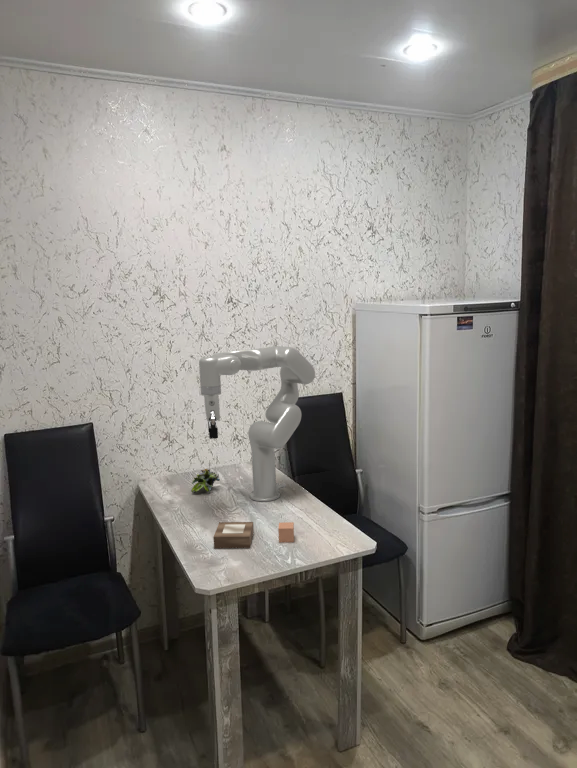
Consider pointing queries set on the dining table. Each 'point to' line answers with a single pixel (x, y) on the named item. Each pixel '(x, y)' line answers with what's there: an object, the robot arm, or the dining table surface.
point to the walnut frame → (233, 535)
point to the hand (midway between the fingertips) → (213, 435)
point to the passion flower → (205, 480)
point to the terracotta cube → (286, 532)
